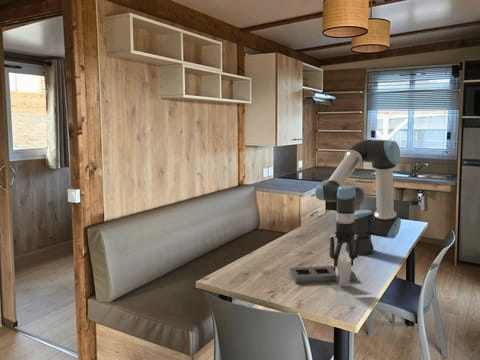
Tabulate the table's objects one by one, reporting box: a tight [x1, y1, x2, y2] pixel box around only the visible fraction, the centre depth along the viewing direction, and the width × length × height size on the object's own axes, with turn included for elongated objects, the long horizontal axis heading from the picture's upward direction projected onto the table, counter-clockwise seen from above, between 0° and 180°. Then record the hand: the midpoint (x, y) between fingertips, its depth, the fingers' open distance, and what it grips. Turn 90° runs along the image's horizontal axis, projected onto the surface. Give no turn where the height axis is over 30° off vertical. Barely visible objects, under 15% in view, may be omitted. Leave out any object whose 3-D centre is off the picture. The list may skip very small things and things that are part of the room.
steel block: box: [336, 257, 351, 284], centre depth 183 cm, size 5×5×10 cm
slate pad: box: [327, 282, 358, 292], centre depth 184 cm, size 10×10×1 cm
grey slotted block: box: [289, 265, 357, 285], centre depth 194 cm, size 28×12×4 cm, turn 96°
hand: (343, 272), depth 183 cm, fingers closed on steel block, 5 cm apart
